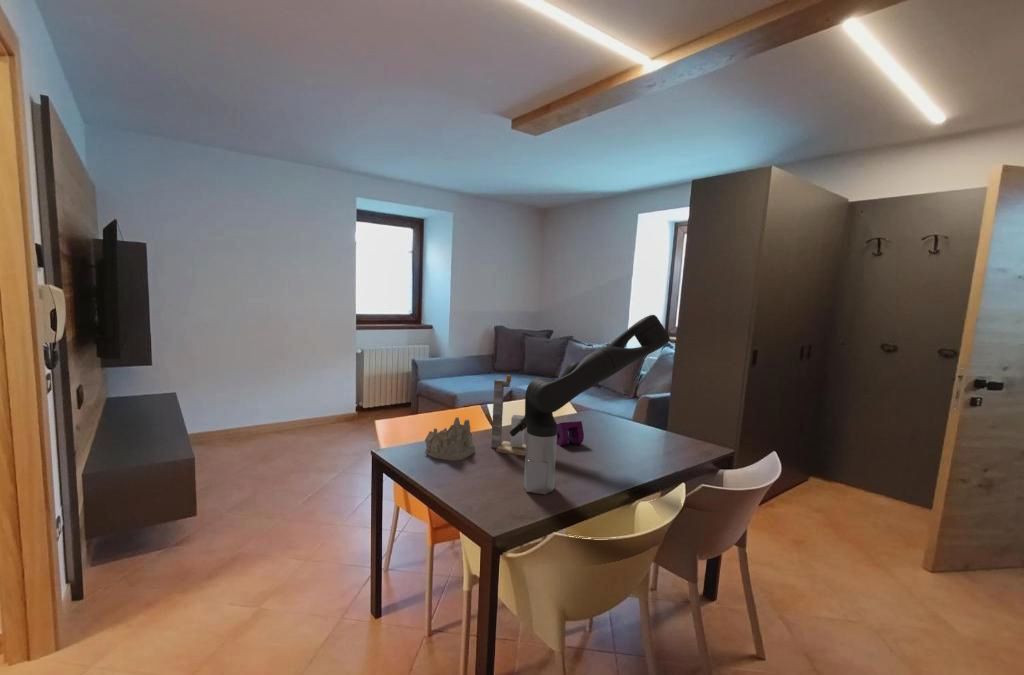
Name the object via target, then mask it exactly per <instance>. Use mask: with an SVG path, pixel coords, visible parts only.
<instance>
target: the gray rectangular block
mask: <svg viewBox="0 0 1024 675" xmlns="http://www.w3.org/2000/svg"><path fill="white" fill-rule="evenodd" d="M524 417H525V416H524V415H519V414H518V415H517V414H513V415H512V417H511V419H510V420H511V424H510V431H511V430H513V429H514V428H515V427H516V426H517V425H518V424H519V423H520V422H521V420H522V419H523V418H524ZM523 421H524V420H523ZM520 426H521V427H524V426H523V425H520ZM509 442H510V446H512V447H523V444H525V429H524V430H523V431H520V432H518V433H517V434H516V435H515V436H512V435H511V434H510V441H509Z"/></svg>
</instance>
